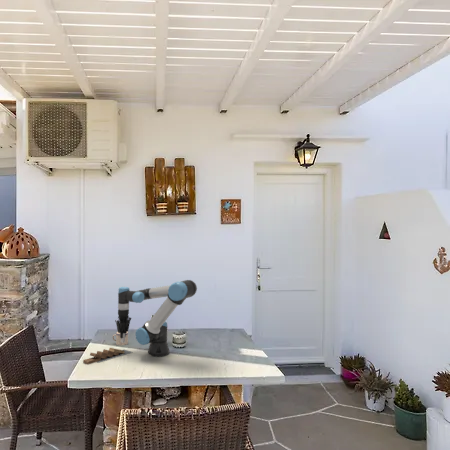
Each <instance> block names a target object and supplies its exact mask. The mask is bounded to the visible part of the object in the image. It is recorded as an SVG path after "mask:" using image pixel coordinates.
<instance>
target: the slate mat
mask: <svg viewBox="0 0 450 450" xmlns="http://www.w3.org/2000/svg"><path fill="white" fill-rule="evenodd" d="M122 350H123V351H125V352H124V353H119V355H114V354H113V357H109V356H107V357H106V359H104V358H101V361H98V362H96V363H97V364H99V363H102V362H105V361H109V360H112V359H116V358H120V357H123V356H126V355H129V354H132V353H134V352H133V351H131V350H128V349H122Z"/></svg>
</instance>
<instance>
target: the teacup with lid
mask: <svg viewBox="0 0 450 450" xmlns="http://www.w3.org/2000/svg"><path fill="white" fill-rule="evenodd" d="M114 336H115V337H116V338H115V337H114ZM112 340H113V342H115V344H116V345H117V346H126V345H128V344H129V331H128V332H127V333H126V337H125V343H122V342H121V338H120V333H118V331H116V333H115V334H113V335H112Z"/></svg>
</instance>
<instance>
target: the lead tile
mask: <svg viewBox="0 0 450 450" xmlns="http://www.w3.org/2000/svg"><path fill="white" fill-rule="evenodd" d="M108 350H110V351H113V352H118V353H124V352H125V351H123V350H124V349H119V348H114V347H109V349H108Z"/></svg>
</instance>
